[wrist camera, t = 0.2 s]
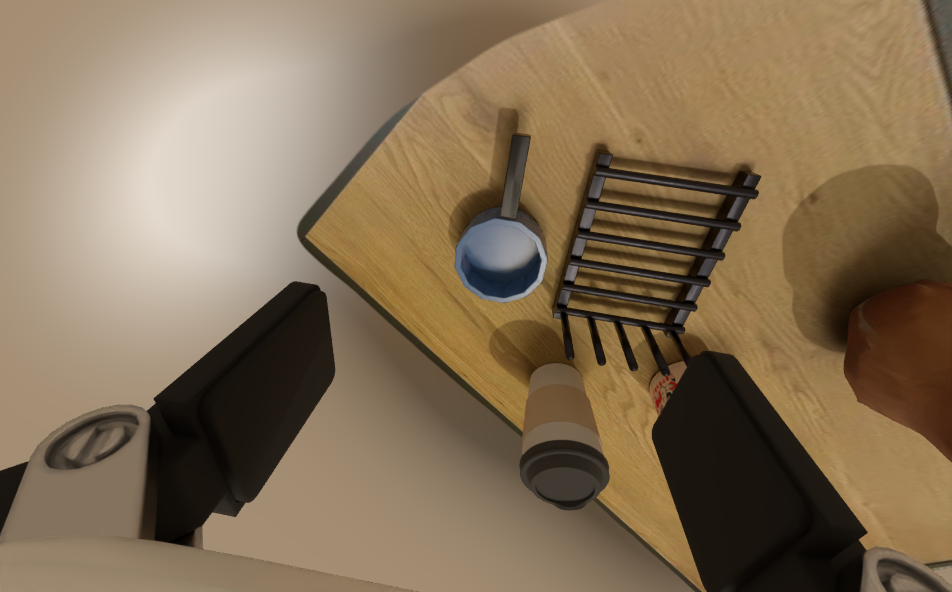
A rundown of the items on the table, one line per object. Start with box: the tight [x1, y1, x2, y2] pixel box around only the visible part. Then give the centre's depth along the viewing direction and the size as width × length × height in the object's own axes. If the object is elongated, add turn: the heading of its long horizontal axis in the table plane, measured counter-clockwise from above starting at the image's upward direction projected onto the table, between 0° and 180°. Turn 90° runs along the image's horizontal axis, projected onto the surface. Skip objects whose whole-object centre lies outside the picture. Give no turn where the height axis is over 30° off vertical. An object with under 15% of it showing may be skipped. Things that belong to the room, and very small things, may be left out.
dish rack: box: [552, 150, 761, 377], centre depth 33 cm, size 18×14×9 cm
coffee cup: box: [520, 363, 610, 510], centre depth 41 cm, size 9×9×15 cm
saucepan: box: [455, 133, 548, 303], centre depth 35 cm, size 16×9×4 cm, turn 174°
